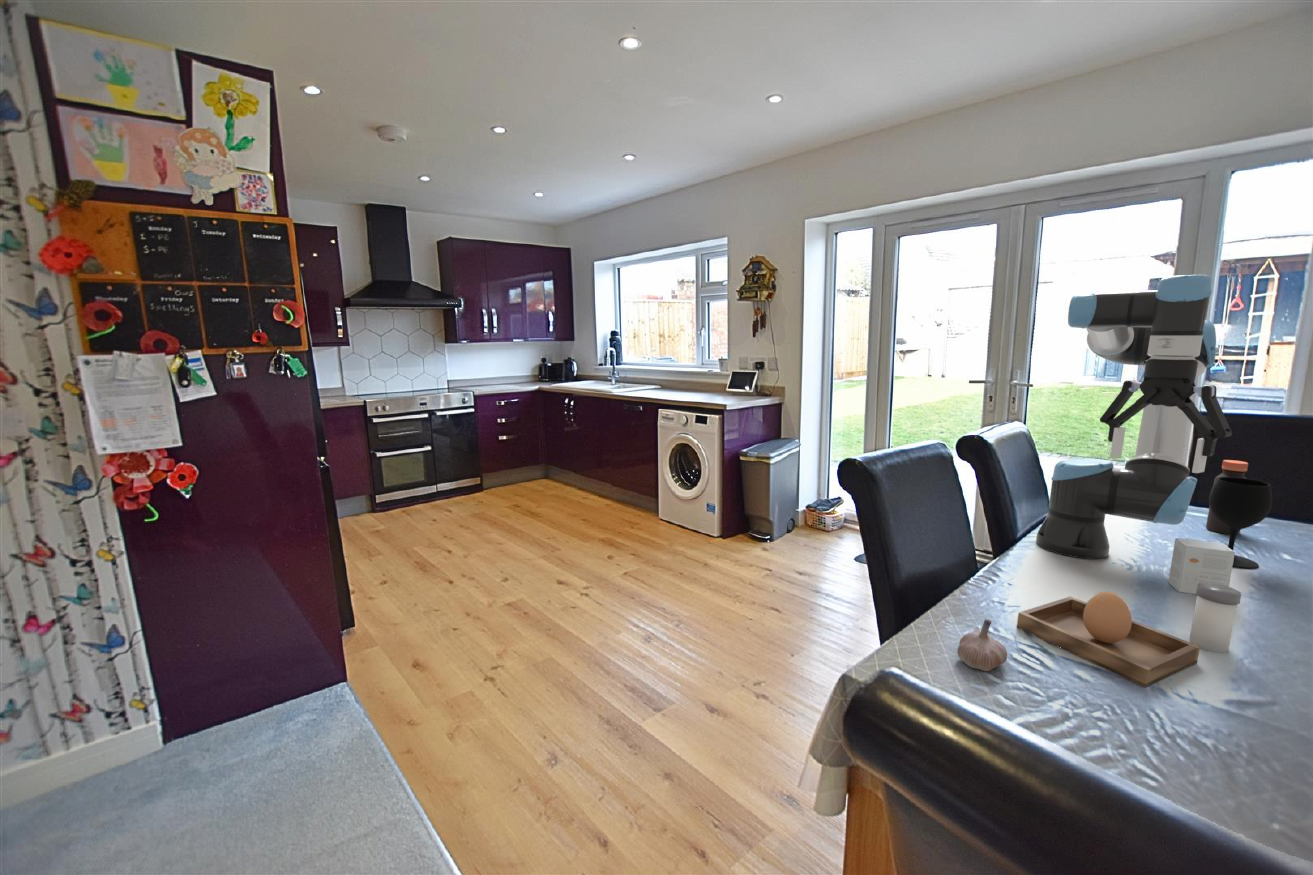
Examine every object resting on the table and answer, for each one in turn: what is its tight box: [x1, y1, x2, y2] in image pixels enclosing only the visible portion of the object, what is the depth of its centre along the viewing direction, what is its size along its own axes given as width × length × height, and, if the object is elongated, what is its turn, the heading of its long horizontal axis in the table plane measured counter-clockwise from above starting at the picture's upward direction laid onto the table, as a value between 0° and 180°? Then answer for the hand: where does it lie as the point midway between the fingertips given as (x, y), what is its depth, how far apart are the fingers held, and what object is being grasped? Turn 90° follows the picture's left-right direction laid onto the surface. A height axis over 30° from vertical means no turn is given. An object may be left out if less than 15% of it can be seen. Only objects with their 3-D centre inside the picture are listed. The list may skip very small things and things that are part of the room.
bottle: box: [1205, 459, 1249, 535], centre depth 155 cm, size 7×7×20 cm
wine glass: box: [1208, 477, 1273, 570], centre depth 134 cm, size 10×10×20 cm
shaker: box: [1188, 582, 1243, 654], centre depth 98 cm, size 5×5×11 cm
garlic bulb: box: [956, 618, 1008, 672], centre depth 92 cm, size 8×7×8 cm
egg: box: [1083, 591, 1133, 643], centre depth 98 cm, size 7×7×9 cm
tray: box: [1016, 596, 1201, 688], centre depth 99 cm, size 20×16×3 cm
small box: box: [1168, 537, 1236, 595], centre depth 119 cm, size 8×6×10 cm
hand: (1154, 464), depth 112 cm, fingers open, 13 cm apart
